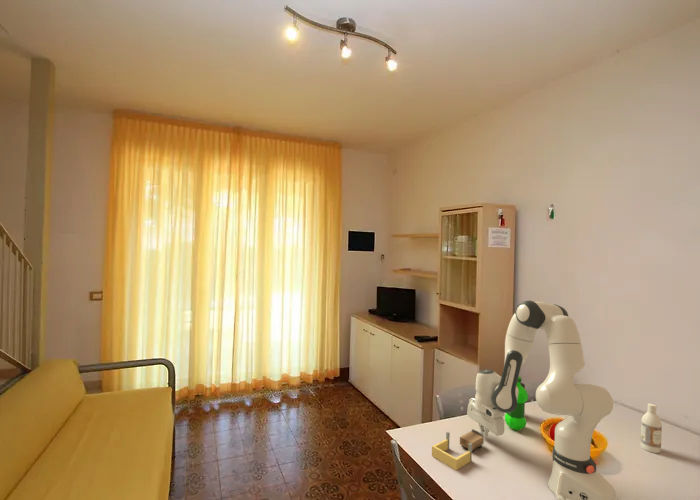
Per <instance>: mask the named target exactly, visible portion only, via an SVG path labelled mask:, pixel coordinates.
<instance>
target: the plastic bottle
mask: <svg viewBox="0 0 700 500" xmlns="http://www.w3.org/2000/svg"><path fill="white" fill-rule="evenodd" d="M520 382H521V383H522V377H521V376H519V377H518V381H517V387H518V390H519V394H518V399H517V407H516V409H515V410H514V411H513V412H510V413H504V422H505V424H506V425H507V426H508V427H509V428H510V429H512V430H514V431H521V430H522V429H523V428H525V427H526V426H527V419H526V417H525V412H526V411H525V410H526V409H525V408H526V407H525V406H526V405H525V404H526V402H527V401H528V400H529V399H528V398H529V394H528V392H527V390H526V388H525V389H524V388H523V387H522V386H521V385H520Z"/></svg>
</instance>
